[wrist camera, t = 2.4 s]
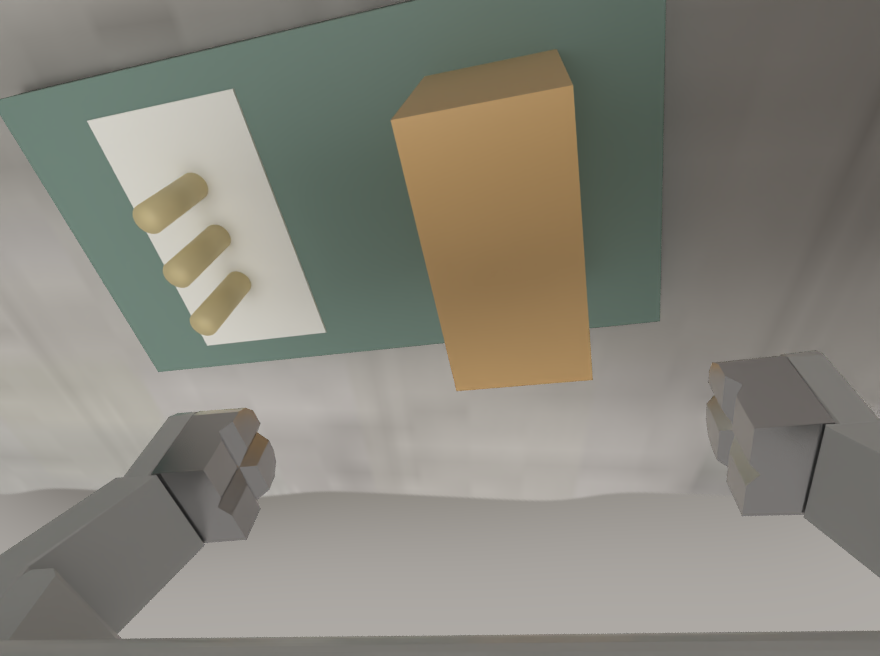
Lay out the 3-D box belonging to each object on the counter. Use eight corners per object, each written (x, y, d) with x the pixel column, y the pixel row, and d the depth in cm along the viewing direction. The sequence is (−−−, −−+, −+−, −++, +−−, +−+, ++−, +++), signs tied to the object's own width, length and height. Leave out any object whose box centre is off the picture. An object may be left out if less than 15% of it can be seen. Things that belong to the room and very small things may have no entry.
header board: (654, -58, 15) (700, -64, 12) (651, 300, 22) (680, 372, 18) (24, 92, 20) (-91, 124, 16) (175, 352, 26) (118, 418, 23)
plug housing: (556, 48, 16) (573, 84, 11) (575, 285, 20) (592, 380, 16) (424, 76, 17) (390, 120, 12) (469, 297, 21) (456, 391, 16)
